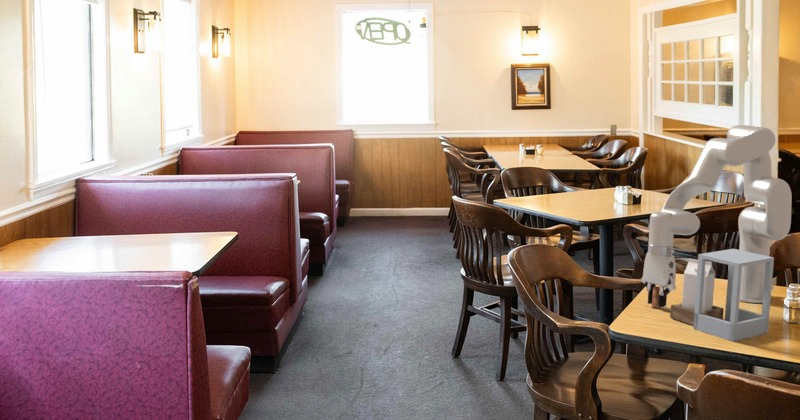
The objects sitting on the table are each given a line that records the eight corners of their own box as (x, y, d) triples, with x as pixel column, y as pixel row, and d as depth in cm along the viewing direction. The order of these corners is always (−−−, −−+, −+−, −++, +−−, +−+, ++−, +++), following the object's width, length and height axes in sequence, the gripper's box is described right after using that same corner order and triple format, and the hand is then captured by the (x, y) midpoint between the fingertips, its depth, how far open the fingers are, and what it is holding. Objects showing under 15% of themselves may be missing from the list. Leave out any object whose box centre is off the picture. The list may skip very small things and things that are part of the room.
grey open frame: (727, 320, 264) (733, 248, 260) (767, 333, 252) (774, 257, 248) (693, 328, 256) (698, 254, 252) (732, 341, 244) (739, 263, 240)
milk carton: (689, 314, 269) (693, 256, 266) (711, 319, 265) (716, 259, 262) (680, 319, 264) (684, 260, 261) (703, 324, 259) (707, 263, 256)
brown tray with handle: (664, 303, 282) (665, 284, 281) (722, 320, 263) (724, 300, 262) (640, 308, 276) (641, 288, 275) (697, 326, 257) (699, 305, 256)
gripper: (688, 253, 269) (685, 309, 272) (648, 244, 283) (645, 297, 286) (672, 256, 265) (669, 312, 268) (632, 246, 279) (629, 300, 282)
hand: (656, 304), depth 277 cm, fingers closed on brown tray with handle, 3 cm apart
